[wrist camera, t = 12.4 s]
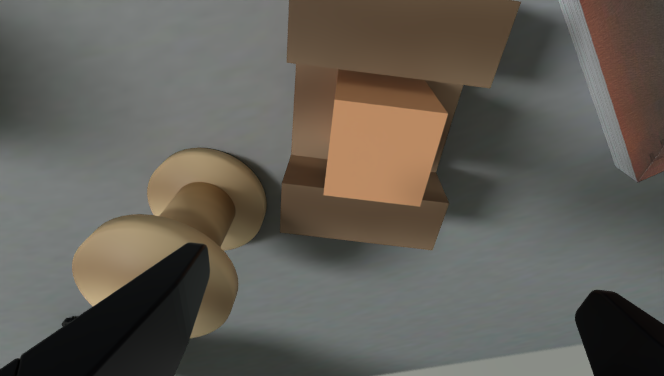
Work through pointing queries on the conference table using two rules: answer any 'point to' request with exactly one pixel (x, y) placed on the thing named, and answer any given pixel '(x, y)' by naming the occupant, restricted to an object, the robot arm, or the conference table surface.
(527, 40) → the conference table surface
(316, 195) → the notch board
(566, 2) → the picture frame
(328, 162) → the light brown wooden block
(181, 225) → the spool
